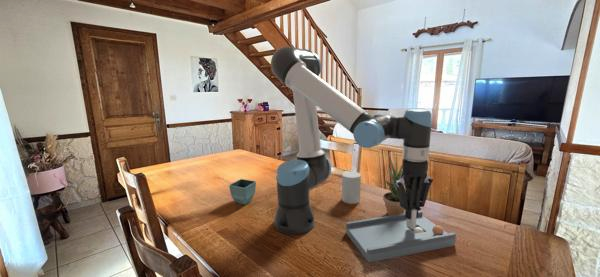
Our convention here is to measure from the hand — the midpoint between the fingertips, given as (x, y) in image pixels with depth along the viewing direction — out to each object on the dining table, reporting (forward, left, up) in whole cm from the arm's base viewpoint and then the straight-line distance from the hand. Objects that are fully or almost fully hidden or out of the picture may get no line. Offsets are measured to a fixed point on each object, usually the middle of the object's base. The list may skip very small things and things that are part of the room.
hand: (410, 226), depth 85 cm
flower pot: (-54, +44, -4) cm, 70 cm away
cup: (-7, +32, -4) cm, 33 cm away
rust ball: (+6, -5, 0) cm, 8 cm away
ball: (+3, -1, -2) cm, 3 cm away
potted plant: (+4, +15, -4) cm, 16 cm away
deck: (-5, 0, -4) cm, 6 cm away
